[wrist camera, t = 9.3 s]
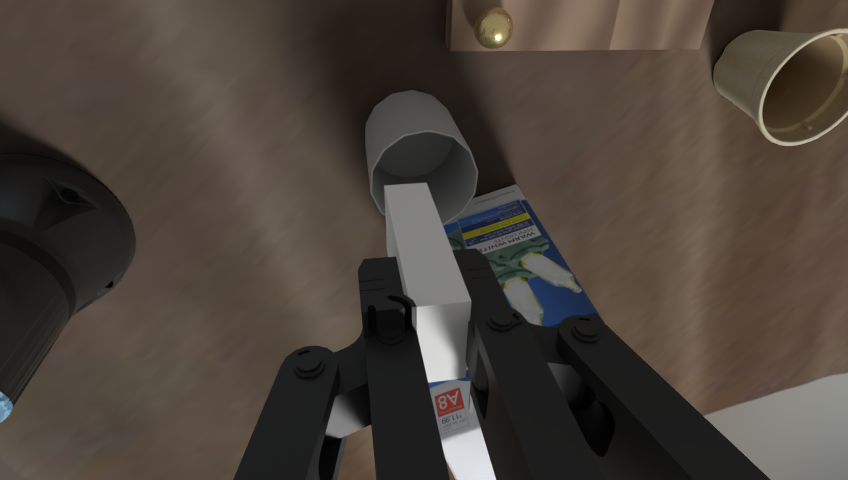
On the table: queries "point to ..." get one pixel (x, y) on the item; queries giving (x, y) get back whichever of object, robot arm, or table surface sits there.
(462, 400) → the string lights box
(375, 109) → the cup
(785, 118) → the flower pot
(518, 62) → the table surface
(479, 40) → the brass ball
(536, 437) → the robot arm
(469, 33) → the board
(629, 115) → the table surface
